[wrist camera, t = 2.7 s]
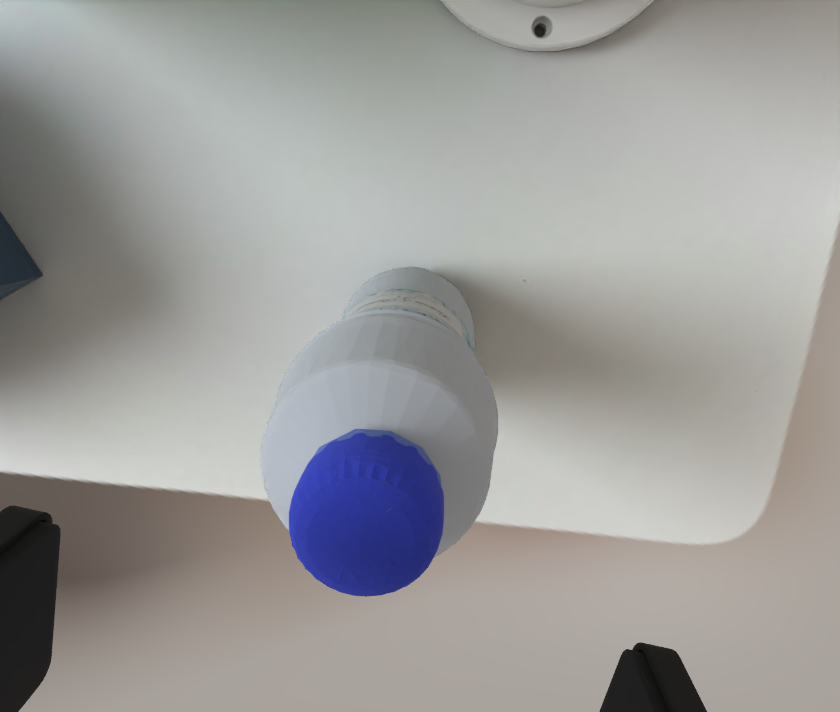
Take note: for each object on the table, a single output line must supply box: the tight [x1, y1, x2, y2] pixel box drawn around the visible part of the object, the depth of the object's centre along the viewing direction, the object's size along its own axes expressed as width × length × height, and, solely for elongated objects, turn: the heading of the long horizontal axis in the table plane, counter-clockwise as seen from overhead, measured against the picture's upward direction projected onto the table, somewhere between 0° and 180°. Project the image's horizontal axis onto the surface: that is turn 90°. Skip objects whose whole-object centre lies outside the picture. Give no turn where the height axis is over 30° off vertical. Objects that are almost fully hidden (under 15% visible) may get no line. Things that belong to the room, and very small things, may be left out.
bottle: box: [261, 267, 498, 596], centre depth 22 cm, size 7×7×20 cm
